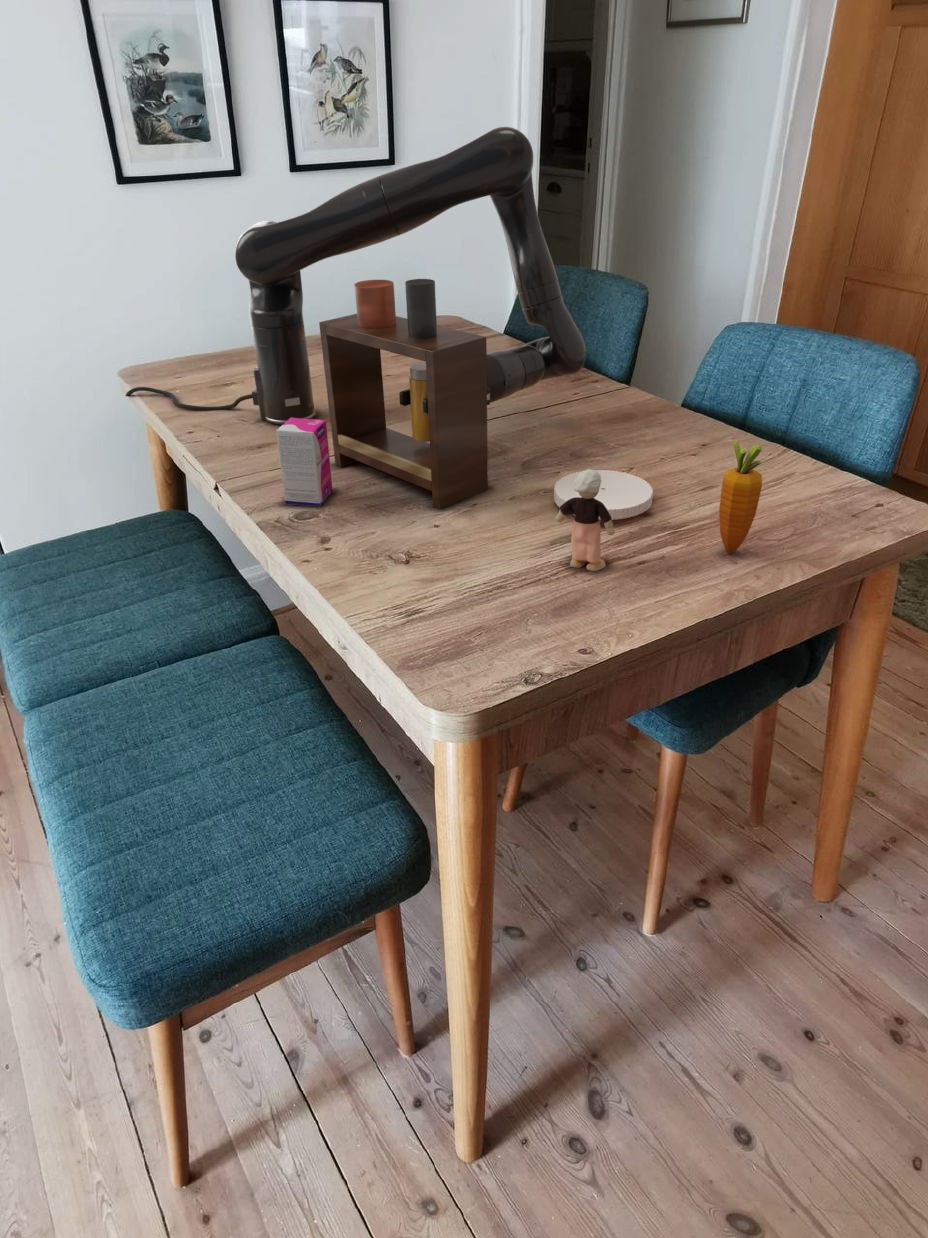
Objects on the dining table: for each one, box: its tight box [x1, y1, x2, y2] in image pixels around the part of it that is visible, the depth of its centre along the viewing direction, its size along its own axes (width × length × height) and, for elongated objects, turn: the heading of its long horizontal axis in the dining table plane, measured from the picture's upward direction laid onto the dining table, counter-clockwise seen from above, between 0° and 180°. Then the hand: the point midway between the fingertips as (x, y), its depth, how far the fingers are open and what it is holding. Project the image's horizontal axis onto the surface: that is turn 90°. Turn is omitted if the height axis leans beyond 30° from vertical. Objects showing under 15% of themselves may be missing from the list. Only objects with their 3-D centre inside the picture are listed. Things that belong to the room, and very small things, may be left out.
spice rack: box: [318, 278, 489, 510], centre depth 123 cm, size 25×10×30 cm, turn 44°
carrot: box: [718, 441, 763, 555], centre depth 103 cm, size 5×5×15 cm
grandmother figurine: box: [555, 468, 616, 572], centre depth 103 cm, size 8×4×13 cm, turn 71°
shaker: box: [408, 361, 430, 443], centre depth 128 cm, size 5×5×11 cm
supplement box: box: [275, 418, 333, 507], centre depth 122 cm, size 6×6×12 cm
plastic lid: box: [553, 469, 654, 521], centre depth 120 cm, size 14×14×2 cm
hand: (413, 402), depth 126 cm, fingers closed on shaker, 4 cm apart
